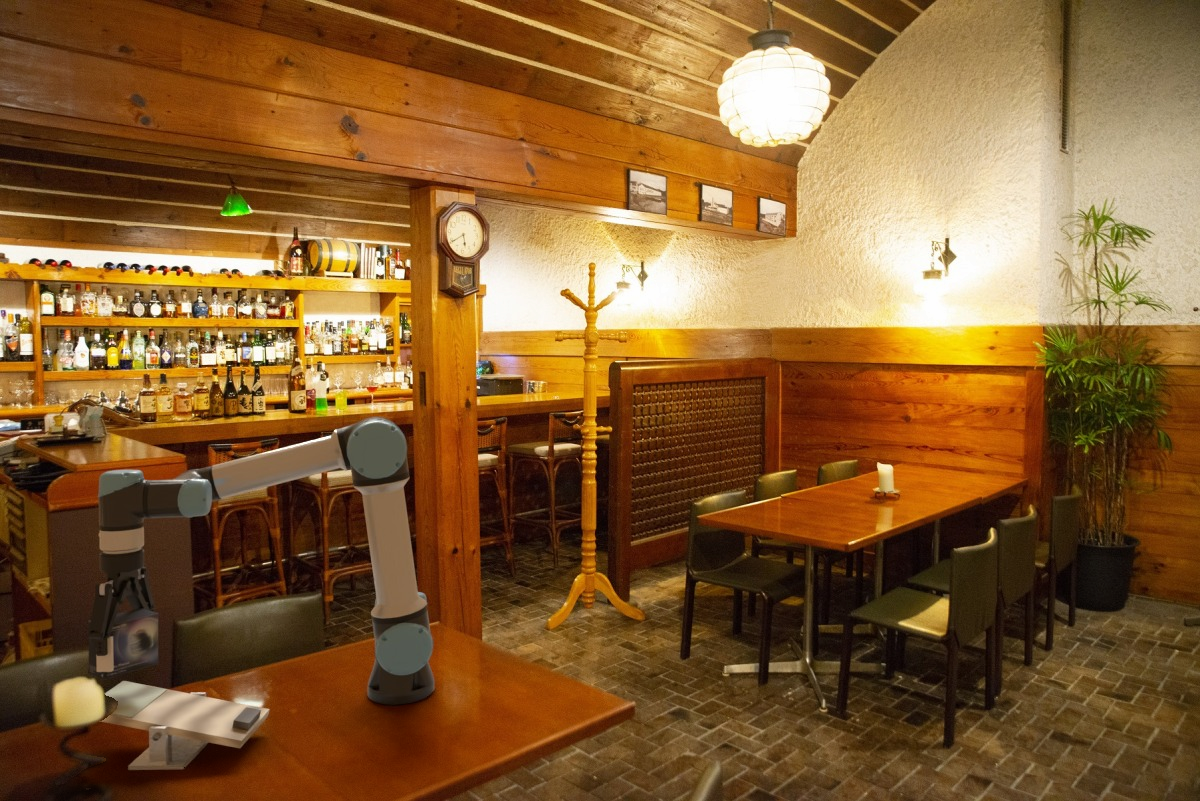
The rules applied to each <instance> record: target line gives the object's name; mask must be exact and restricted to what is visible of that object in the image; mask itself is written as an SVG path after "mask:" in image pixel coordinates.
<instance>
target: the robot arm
mask: <svg viewBox="0 0 1200 801" xmlns="http://www.w3.org/2000/svg"><path fill="white" fill-rule="evenodd" d="M407 452H408V443H407V440H406V436H405V434H404V433H403V431H402V430H401V429H400V427H399V426H398V425H397V423H395V422H394V421H392V420H390V419H389V418H387V417H383V416H372V417H371V416H370V417H367V418H364V419H363V420H360V421H358V422H355V423H352V424H350V425H347V426H343V427H340V428H336V429H334V430H333V432H332V434H331V435H328V436H324V437H323V436H322V437H319V438H316V439H311V440H307V441H304V442H300V443H295V444H292V445H291V444H290V445H288V446H284V447H280V448H275V449H273V450H272V449H271V450H269V451H264V452H262V453H261V452H260V453H257V454H252V455H248V456H244V457H241V458H236V459H233V460H229V461H225V462H222V463H217V464H213V465H211V466H210V465H209V466H206V467H205V466H204V467H202V468H196V469H195V468H193V469H189V470H185V471H184V472H182V473H180V474H179V475H178V476H176V477H174V478H172V479H155V480H154V479H145V477H144V472H143V471H142V470H140V469H115V470H114V469H113V470H108V471H105V472H103V473H101V474H100V476H99V479H98V494H97V498H98V520H99V521H98V524H99V526H98V530H99V533H97V534H98V537H99V550H101V552H100V553H99V557H98V558H99V571H100V572H101V573H105V574H106V579H105V582H104V583H96V585H95V592H94V593H95V595H94V601H93V606H92V607H93V608H92V612H91V617H90V619H89V620H90V625H89V624H88V630H87V631H88V632H87V639H89V638H95V639H96V660H97V672H112V671H113V670H114V659H113V636H110V634H111V631H112V628H113V625H114V622H115V619H116V616H117V614H118V613H119V610H120V606H121V604H124V602H125V599H126V600H127V602H128V603H129V605H130V607H131V610H135V609H139V608H144V609H147V610H150V611H153V612H155V611H154V610H155V607H156V606H155V601H154V597H153V594H152V589H151V586H150V582H149V578H148V568H147V566H145V549H143V547H144V545H145V525H144V524H145V522H144V521H145V519H159V518H161V519H163V518H165V519H166V518H188V519H189V518H190V519H191V518H193V517H203V516H206V515H208V514H209V513H210V511H211V508H212V505H213V504H212V503H213V502H217V501H219V500H222V499H226V498H230V497H235V496H237V495H238V496H239V495H242V494H246V493H249V492H253V491H254V492H255V491H257V490H261V489H265V488H269V487H272V486H275V485H279V484H283V483H288V482H291V481H295V480H299V479H302V478H307V477H310V476H315V475H318V474H322V473H326V472H329V471H334V470H337V469H341V470H344V471H345V472H347V471H351V472H350V474H351V477H352V478H351V479H352V480H351V481H352V486H353V488H354V489H355V490H357V491H358V492H360V493H361V495H362V503H363V504H362V505H363V509H364V511H363V512H364V518H365V524H366V531H367V532H366V533H367V539H368V540H367V541H368V545H369V546H368V547H369V555H370V560H371V566H372V567H371V568H372V575H373V582H374V589H375V597H376V598H375V600H374V601H375V602H374V606H373V608H372V610H371V611H370V615H371V622H372V630H373V636H374V663H373V666H372V670H371V672H370V675H369V679H368V682H367V691H366V692H367V698H368V699H369V700H371V701H372V702H374V703H376V704H381V705H382V704H383V705H393V706H394V705H395V706H396V705H397V706H398V705H406V704H411V703H412V704H413V703H415V702H419V701H422V700H424V699H427V698H428V697H430V696H431V695H432V694H433V693H434V692H433V691H435V677H434V674H433V671H432V667H431V666H430V662H429V660H430V659H431V656H432V653H433V650H434V637H433V636H432V632H431V627H430V618H429V612H428V602H427V601H428V600H427V595H426V594H425V593H424V592H421V591H418V585H417V583H418V582H417V577H416V570H415V562H414V555H413V548H412V547H413V546H412V541H411V540H412V539H411V532H410V526H409V524H410V523H409V520H408V519H409V518H408V511H407V510H408V509H407V502H406V497H405V490H404V489H405V488H404V487H405V485H406V484H407V482H408V481H409V480H410V470H409V463H408V455H407V454H408V453H407ZM144 566H145V567H144ZM432 692H433V693H432ZM431 693H432V694H431ZM430 694H431V695H430ZM429 695H430V696H429ZM427 696H428V697H427Z"/></svg>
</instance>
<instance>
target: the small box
mask: <svg viewBox="0 0 1200 801" xmlns="http://www.w3.org/2000/svg"><path fill="white" fill-rule="evenodd" d="M90 620H91V619H89V620H88V621H87V623H88V626H89V625H90ZM110 636H113V659H114V670H113V671H112V672H97V660H96V639H95V638H88V669H87V673H88V674H90V675H92V676H94V677H97V678H99V679H101V680H107V679H108V680H109V679H111V678H115V677H117V676H120V675H124V674H127V673H131V672H134V671H138V670H142V669H145V668H148V667H152V666H155V665H159V613H158V612H157V611H154V612H153V611H150V610H147V609H144V608H139V609H135V610H133V609H131V610H127V611H124V612H120V613H119V612H118V613H117V616H116V619H115V622H114V625H113V628H112V631H111V634H110Z"/></svg>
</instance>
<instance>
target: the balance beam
mask: <svg viewBox="0 0 1200 801" xmlns="http://www.w3.org/2000/svg"><path fill="white" fill-rule="evenodd" d="M104 694H105V695H106V696H109V697H112V698H114V699H115V700H116V701H118V706H117V709H116V710H115V711H114V712H113V713H112V714H111V715H109V716H108V717H107V718H105V719H104V720H102V721H100V722H102V723H107V724H112V725H117V726H121V727H122V726H123V727H128V728H133V729H137V730H142V731H147V732H149V728H150V727H157V726H167V727H168V735H173V736H178V737H184V738H189V739H194V740H199V741H204V742H209V743H211V744H216V745H219V746H220V745H221V746H225V747H232V748H236V749H241V748H242V747H243V746H244V744H246V742H248V740H249V739H250V737H252V735H254V733H255V732H256V731H257V730H258V728H259V727H260V726H261V725H262V724H263V723H264V722H265V721H266V719H267V718H268V717H269V714H270V708H266V707H265V708H264V707H259V706H255V705H250V704H245V703H241V702H240V703H239V702H235V701H234V702H233V701H230V700H223V699H219V698H214V697H209V696H206V697H204V696H199V695H194V694H190V693H188V692H183V691H179V690H173V689H168V688H163V687H159V686H158V687H157V686H153V685H146V684H143V683H142V684H141V683H136V682H132V681H129V680H128V681H127V680H122V681H120V683H118V684H116V685H115V686H113V687H112V688H111V689H109V690H107V691H106V692H105V693H104ZM209 743H208V744H209Z"/></svg>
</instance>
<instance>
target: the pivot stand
mask: <svg viewBox="0 0 1200 801" xmlns="http://www.w3.org/2000/svg"><path fill="white" fill-rule="evenodd" d="M189 694H194V695H199V696H204V697H207V692H203V691H202V692H201V691H200V692H199V691H198V692H193V691H191V692H190V693H189ZM208 744H209V742H204V741H199V740H194V739H189V738H184V737H178V736H173V735H168V727H167V726H157V727H150V728H149V731H148V747H147V748H146V749H145V750H144V751H143V752H142V753H141V754H140V755H139V756H137V757H136V758H135V759H134V760H133V761H132V762H131V763H129V764H128V765H127V767H128V768H127V770H128V771H143V770H144V771H149V770H150V771H153V770H154V771H155V770H156V771H158V770H161V771H162V770H165V771H166V770H185V768H186V767H187V766H188V765H189V764H190V763H191V762H192V761H193V760H194V759H195V758H196V757H197V755H199V754H200V753H201V751H203V749H204V748H205V747H206V746H207V745H208ZM184 767H185V768H184Z"/></svg>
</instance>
